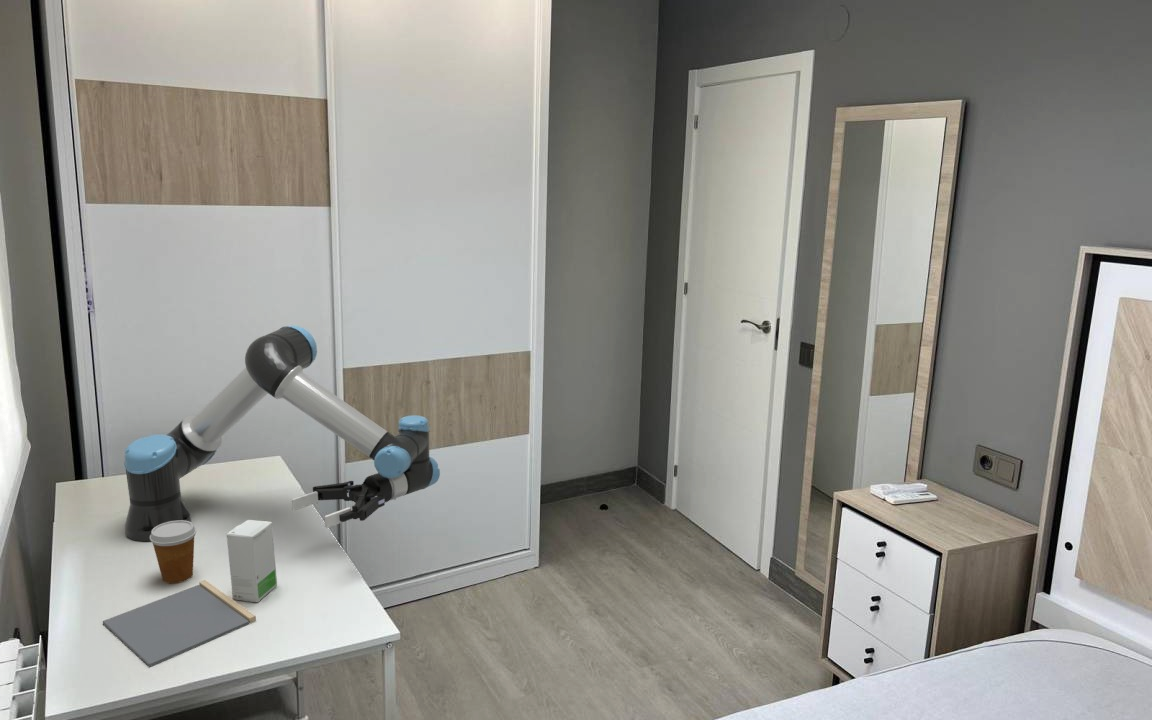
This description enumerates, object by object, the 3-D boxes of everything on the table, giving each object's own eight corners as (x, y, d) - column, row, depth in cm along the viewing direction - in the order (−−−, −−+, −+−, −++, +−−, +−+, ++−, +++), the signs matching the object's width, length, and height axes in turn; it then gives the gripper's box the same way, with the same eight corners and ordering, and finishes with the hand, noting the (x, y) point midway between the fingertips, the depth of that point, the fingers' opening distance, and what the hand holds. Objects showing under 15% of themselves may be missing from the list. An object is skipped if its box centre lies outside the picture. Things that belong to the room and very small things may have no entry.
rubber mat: (103, 623, 172) (102, 618, 171) (205, 584, 187) (204, 579, 187) (149, 667, 158) (149, 661, 157) (256, 620, 174) (255, 615, 173)
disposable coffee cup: (155, 591, 184) (149, 541, 181) (154, 571, 193) (148, 524, 190) (202, 581, 189) (197, 533, 186) (199, 563, 197) (194, 516, 194)
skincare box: (257, 603, 180) (251, 537, 176) (230, 599, 181) (223, 534, 178) (278, 584, 188) (273, 521, 184) (252, 581, 189) (246, 517, 186)
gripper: (416, 515, 201) (341, 545, 185) (355, 487, 216) (280, 512, 201) (416, 486, 199) (339, 513, 183) (354, 460, 215) (278, 483, 199)
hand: (308, 513), depth 192 cm, fingers open, 13 cm apart
